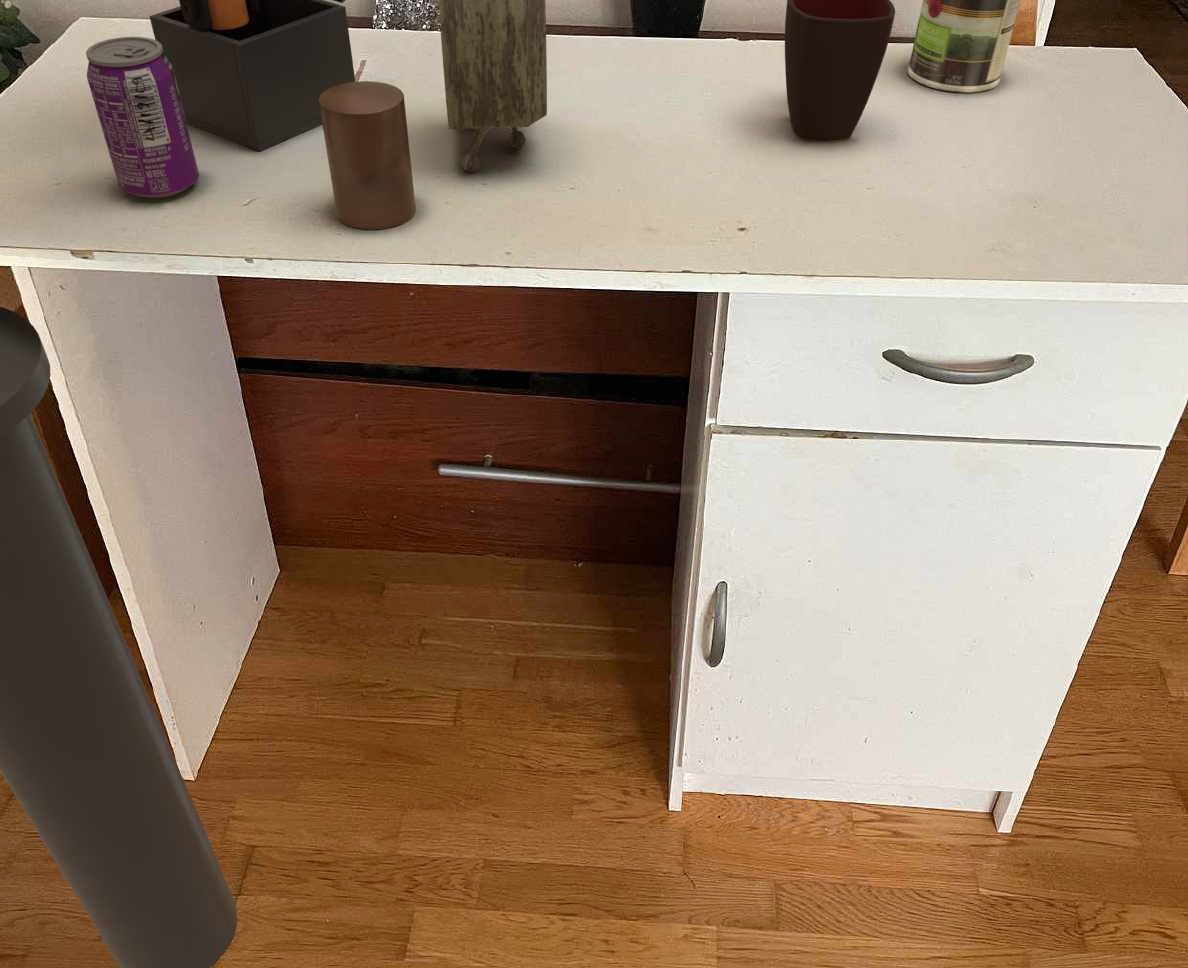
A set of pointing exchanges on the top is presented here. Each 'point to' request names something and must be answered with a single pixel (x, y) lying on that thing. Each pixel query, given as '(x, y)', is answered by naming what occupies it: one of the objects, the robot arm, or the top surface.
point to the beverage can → (141, 116)
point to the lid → (339, 1)
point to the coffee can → (962, 43)
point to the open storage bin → (259, 69)
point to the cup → (833, 62)
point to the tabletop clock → (493, 67)
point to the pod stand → (368, 154)
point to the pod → (228, 14)
